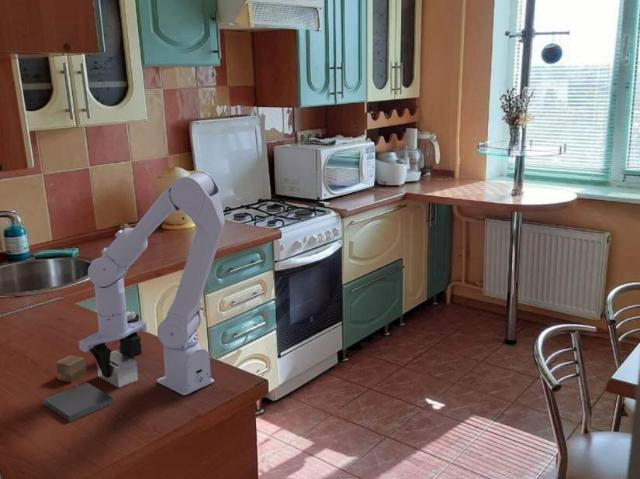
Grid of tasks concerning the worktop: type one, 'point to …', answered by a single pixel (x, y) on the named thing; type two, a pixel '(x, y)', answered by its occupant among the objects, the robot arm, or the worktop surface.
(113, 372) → the block
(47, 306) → the worktop surface
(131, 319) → the push button
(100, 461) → the worktop surface
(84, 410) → the stand
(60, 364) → the tan cube
